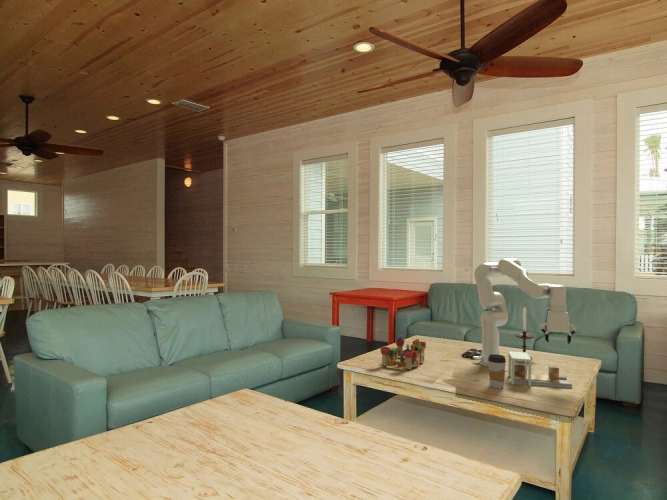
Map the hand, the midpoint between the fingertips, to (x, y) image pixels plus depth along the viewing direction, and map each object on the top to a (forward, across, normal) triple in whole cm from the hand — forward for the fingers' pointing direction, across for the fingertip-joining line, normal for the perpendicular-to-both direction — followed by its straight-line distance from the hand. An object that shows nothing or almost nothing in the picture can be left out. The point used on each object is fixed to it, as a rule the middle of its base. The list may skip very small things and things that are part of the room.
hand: (557, 342), depth 219 cm
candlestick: (+20, -14, +44) cm, 50 cm away
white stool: (+20, -18, -5) cm, 28 cm away
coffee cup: (+20, -29, -19) cm, 41 cm away
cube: (+17, -18, -5) cm, 26 cm away
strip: (+19, -10, -5) cm, 22 cm away
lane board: (+20, -8, -4) cm, 22 cm away
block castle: (+20, -81, +9) cm, 84 cm away
